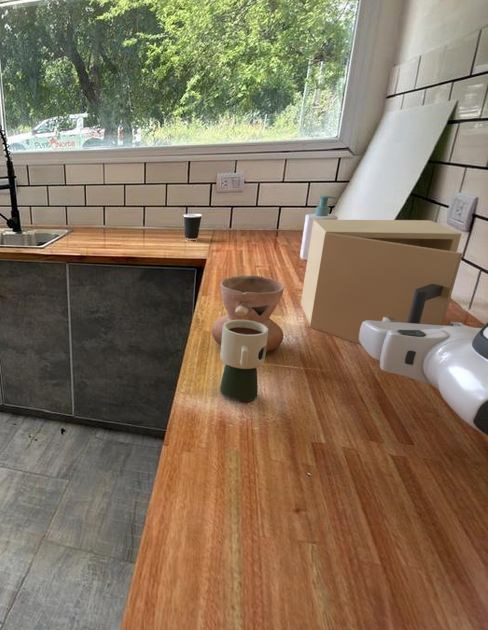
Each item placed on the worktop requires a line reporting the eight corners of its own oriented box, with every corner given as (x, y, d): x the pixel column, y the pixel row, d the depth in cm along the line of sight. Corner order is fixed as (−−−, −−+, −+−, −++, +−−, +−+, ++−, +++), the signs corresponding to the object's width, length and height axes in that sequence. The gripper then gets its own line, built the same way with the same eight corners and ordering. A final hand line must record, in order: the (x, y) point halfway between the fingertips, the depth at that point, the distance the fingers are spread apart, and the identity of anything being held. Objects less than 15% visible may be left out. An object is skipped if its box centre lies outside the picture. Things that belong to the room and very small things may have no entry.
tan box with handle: (410, 377, 82) (441, 259, 74) (291, 333, 102) (305, 237, 94) (431, 366, 85) (463, 252, 77) (312, 326, 105) (327, 232, 98)
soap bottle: (331, 262, 156) (343, 197, 148) (302, 261, 158) (312, 197, 151) (326, 255, 165) (336, 194, 157) (298, 254, 167) (307, 194, 160)
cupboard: (434, 335, 98) (461, 233, 90) (310, 326, 106) (325, 231, 98) (408, 310, 113) (430, 220, 104) (300, 303, 120) (313, 219, 112)
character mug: (261, 414, 74) (271, 342, 69) (216, 408, 76) (222, 338, 71) (257, 382, 83) (265, 317, 78) (217, 377, 85) (223, 314, 81)
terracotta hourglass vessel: (273, 369, 87) (282, 300, 82) (200, 353, 95) (204, 290, 90) (288, 335, 101) (297, 275, 96) (223, 324, 109) (228, 268, 104)
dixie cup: (203, 240, 197) (205, 215, 193) (187, 242, 196) (188, 217, 192) (195, 237, 204) (196, 213, 200) (179, 239, 203) (180, 214, 199)
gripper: (556, 345, 60) (500, 310, 72) (378, 332, 66) (355, 302, 78) (540, 387, 62) (489, 346, 74) (369, 370, 68) (348, 335, 81)
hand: (419, 323), depth 76 cm, fingers open, 8 cm apart
